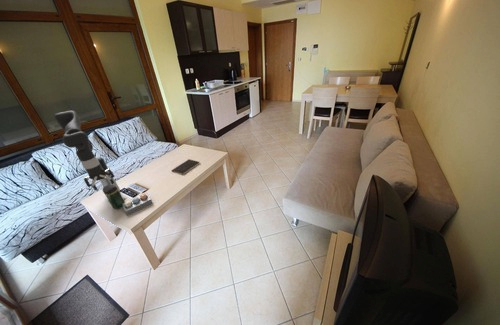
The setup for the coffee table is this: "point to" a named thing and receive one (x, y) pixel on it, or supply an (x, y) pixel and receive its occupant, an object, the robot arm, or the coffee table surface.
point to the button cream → (128, 204)
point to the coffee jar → (113, 196)
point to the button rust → (143, 197)
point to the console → (137, 205)
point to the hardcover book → (185, 167)
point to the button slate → (135, 200)
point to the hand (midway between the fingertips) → (105, 186)
